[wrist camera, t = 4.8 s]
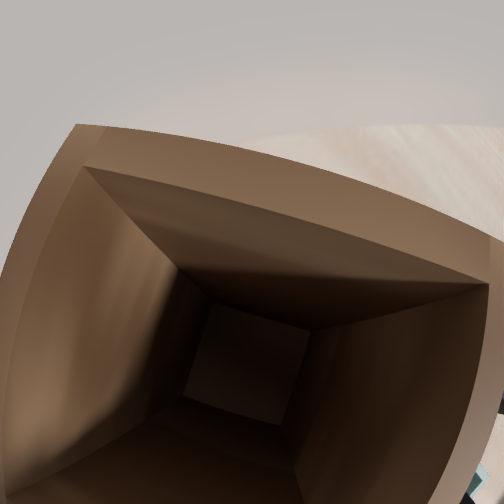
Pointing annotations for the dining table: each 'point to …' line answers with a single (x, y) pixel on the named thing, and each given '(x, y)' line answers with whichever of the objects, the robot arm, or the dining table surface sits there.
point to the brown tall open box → (240, 333)
